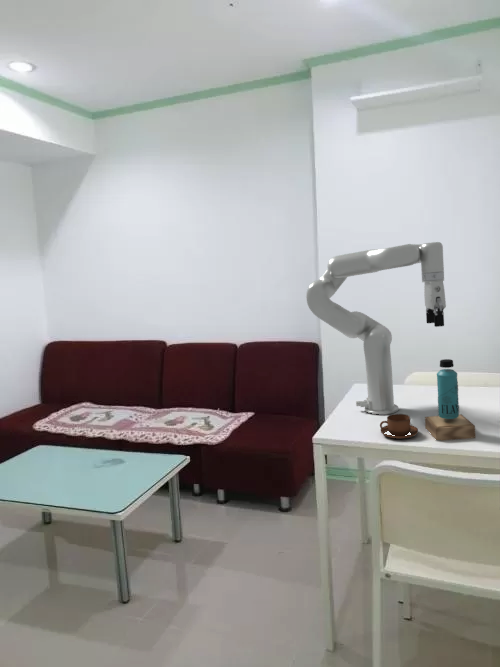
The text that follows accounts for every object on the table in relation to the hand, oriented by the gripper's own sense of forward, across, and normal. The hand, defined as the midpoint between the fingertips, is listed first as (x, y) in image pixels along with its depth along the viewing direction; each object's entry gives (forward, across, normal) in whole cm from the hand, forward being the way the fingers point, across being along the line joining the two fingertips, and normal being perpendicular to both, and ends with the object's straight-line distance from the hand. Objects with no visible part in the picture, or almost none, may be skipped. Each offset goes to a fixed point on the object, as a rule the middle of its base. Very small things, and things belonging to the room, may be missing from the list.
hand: (435, 324), depth 186 cm
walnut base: (+32, -24, +4) cm, 40 cm away
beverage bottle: (+28, -24, +4) cm, 37 cm away
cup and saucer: (+33, -22, +20) cm, 44 cm away
